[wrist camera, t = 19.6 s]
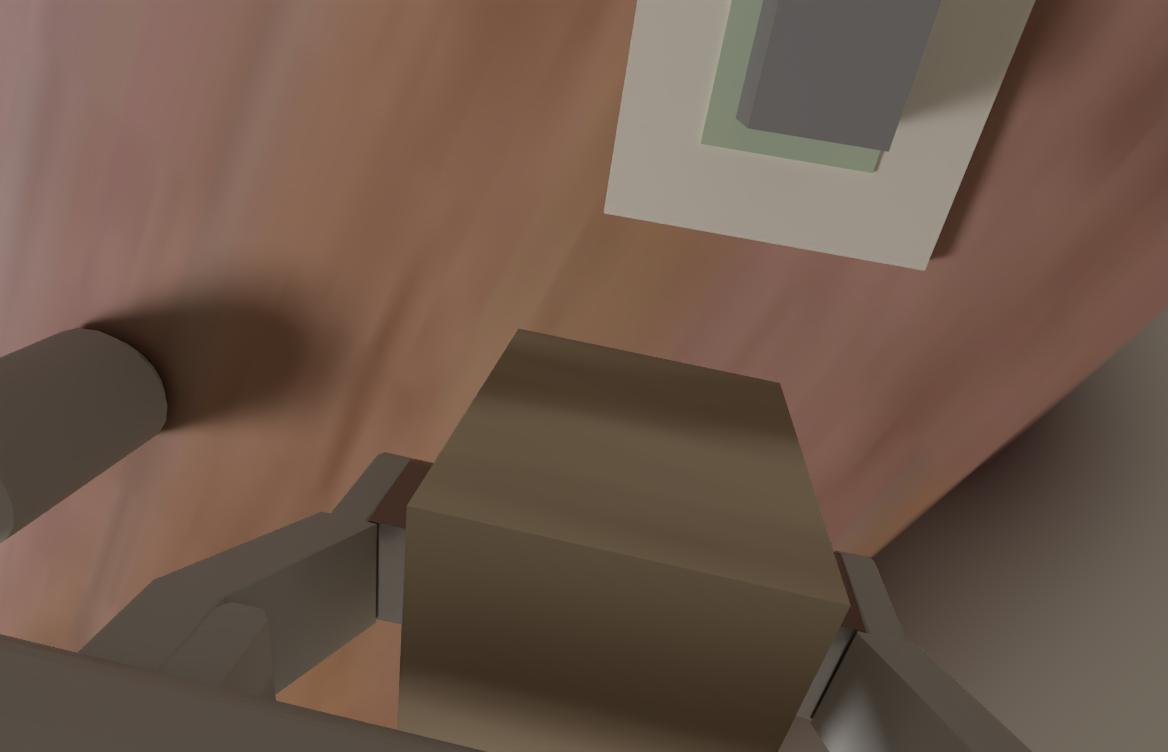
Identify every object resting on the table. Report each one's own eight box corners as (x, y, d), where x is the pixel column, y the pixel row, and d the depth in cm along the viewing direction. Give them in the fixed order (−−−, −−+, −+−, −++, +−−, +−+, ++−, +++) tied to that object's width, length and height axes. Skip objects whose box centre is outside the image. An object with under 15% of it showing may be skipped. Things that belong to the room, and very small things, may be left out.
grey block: (767, -16, 23) (787, -37, 18) (894, 3, 23) (946, -14, 18) (735, 118, 25) (747, 128, 20) (850, 137, 25) (888, 151, 20)
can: (191, 366, 36) (-17, 492, 25) (163, 456, 39) (-31, 601, 28) (67, 297, 35) (-204, 397, 24) (49, 395, 38) (-196, 521, 27)
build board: (669, -186, 22) (669, -201, 21) (1072, -130, 21) (1096, -142, 20) (606, 207, 29) (603, 214, 27) (915, 262, 28) (926, 271, 27)
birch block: (518, 328, 11) (407, 505, 6) (779, 383, 11) (850, 605, 6) (493, 530, 13) (395, 768, 9) (711, 579, 13) (728, 850, 8)
